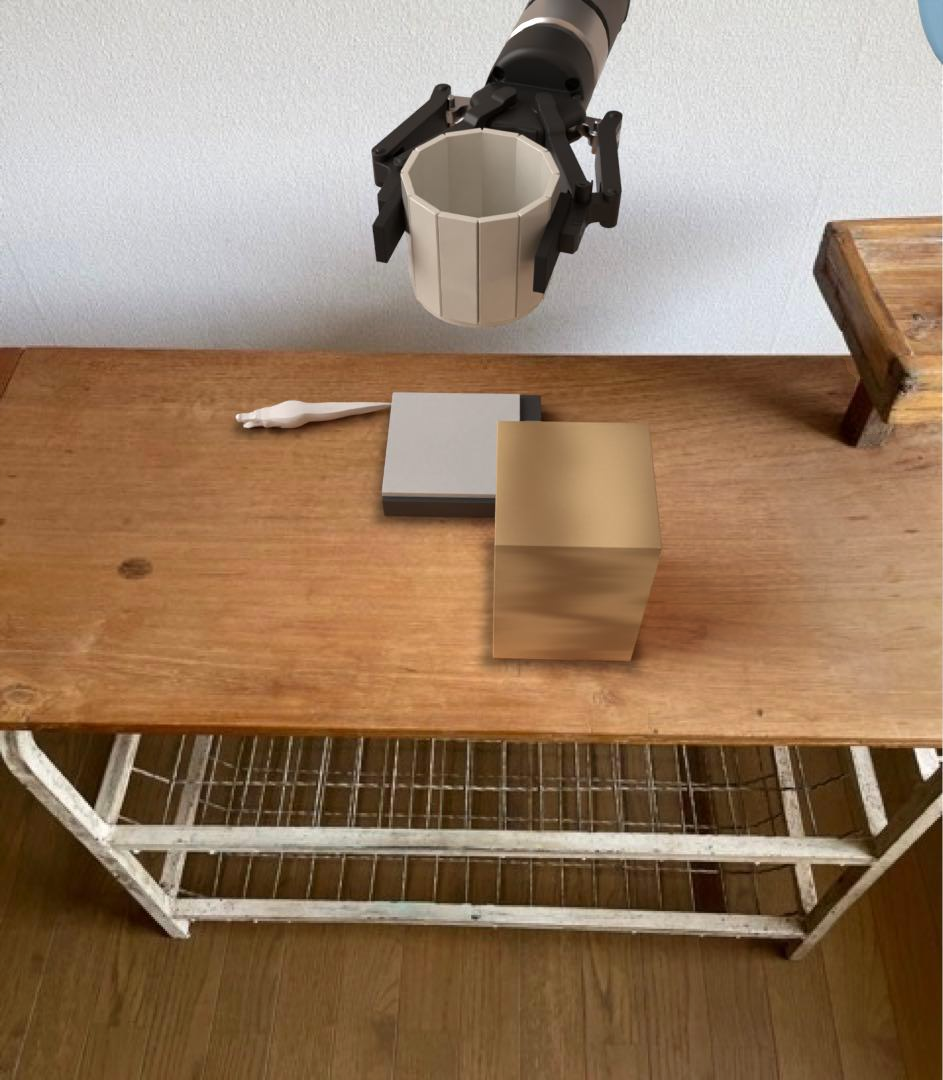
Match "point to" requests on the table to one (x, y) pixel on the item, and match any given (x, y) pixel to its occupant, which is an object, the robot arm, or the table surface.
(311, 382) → the table surface
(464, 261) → the pot
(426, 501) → the scale
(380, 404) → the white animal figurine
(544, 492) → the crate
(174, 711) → the table surface
